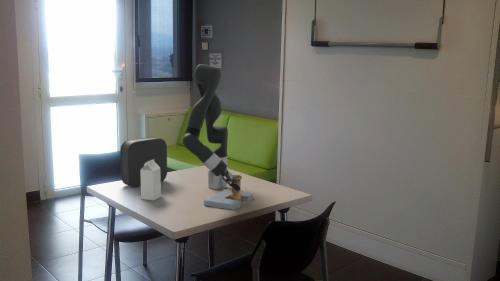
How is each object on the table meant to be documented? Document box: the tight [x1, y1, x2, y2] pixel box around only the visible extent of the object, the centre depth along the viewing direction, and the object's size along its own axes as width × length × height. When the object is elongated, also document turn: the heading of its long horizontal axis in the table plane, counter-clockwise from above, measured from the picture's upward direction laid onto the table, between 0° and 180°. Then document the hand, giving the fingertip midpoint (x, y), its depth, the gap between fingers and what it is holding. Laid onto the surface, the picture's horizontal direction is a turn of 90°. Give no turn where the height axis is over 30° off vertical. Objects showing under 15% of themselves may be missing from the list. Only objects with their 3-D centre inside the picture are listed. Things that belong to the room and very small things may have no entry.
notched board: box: [203, 188, 255, 211], centre depth 233 cm, size 16×22×2 cm
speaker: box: [119, 136, 168, 188], centre depth 262 cm, size 25×9×25 cm, turn 136°
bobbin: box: [230, 174, 243, 204], centre depth 231 cm, size 6×6×13 cm
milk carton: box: [140, 159, 162, 201], centre depth 236 cm, size 7×7×19 cm
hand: (238, 187), depth 231 cm, fingers open, 8 cm apart
